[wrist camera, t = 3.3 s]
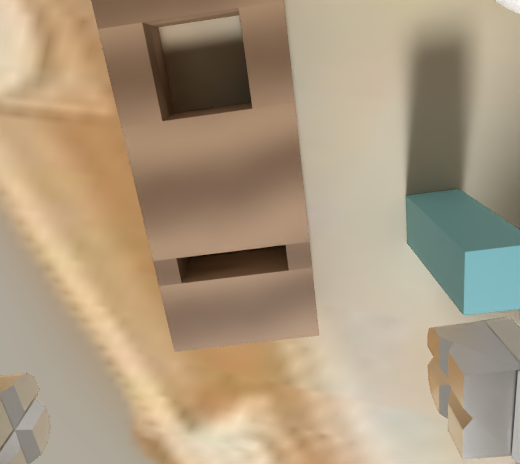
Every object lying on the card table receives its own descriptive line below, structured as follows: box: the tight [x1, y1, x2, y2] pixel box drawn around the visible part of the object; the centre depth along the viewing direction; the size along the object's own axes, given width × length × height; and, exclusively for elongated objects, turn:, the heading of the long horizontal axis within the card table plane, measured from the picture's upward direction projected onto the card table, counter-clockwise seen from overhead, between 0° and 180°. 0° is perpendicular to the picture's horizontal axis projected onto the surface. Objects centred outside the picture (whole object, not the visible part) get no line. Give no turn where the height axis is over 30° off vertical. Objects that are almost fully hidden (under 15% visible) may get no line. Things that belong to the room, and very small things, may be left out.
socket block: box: [91, 0, 319, 352], centre depth 29 cm, size 24×10×4 cm, turn 8°
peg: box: [406, 189, 520, 315], centre depth 28 cm, size 4×4×10 cm
